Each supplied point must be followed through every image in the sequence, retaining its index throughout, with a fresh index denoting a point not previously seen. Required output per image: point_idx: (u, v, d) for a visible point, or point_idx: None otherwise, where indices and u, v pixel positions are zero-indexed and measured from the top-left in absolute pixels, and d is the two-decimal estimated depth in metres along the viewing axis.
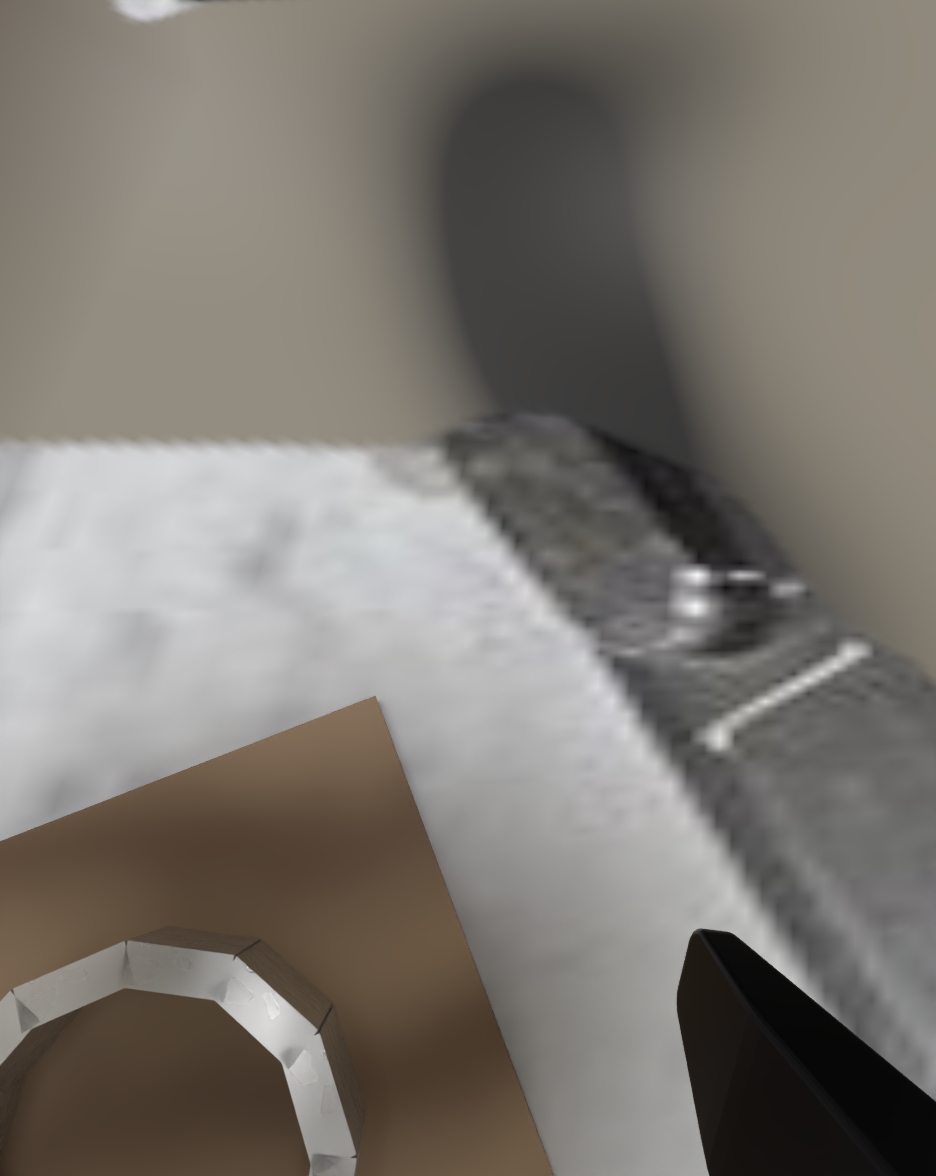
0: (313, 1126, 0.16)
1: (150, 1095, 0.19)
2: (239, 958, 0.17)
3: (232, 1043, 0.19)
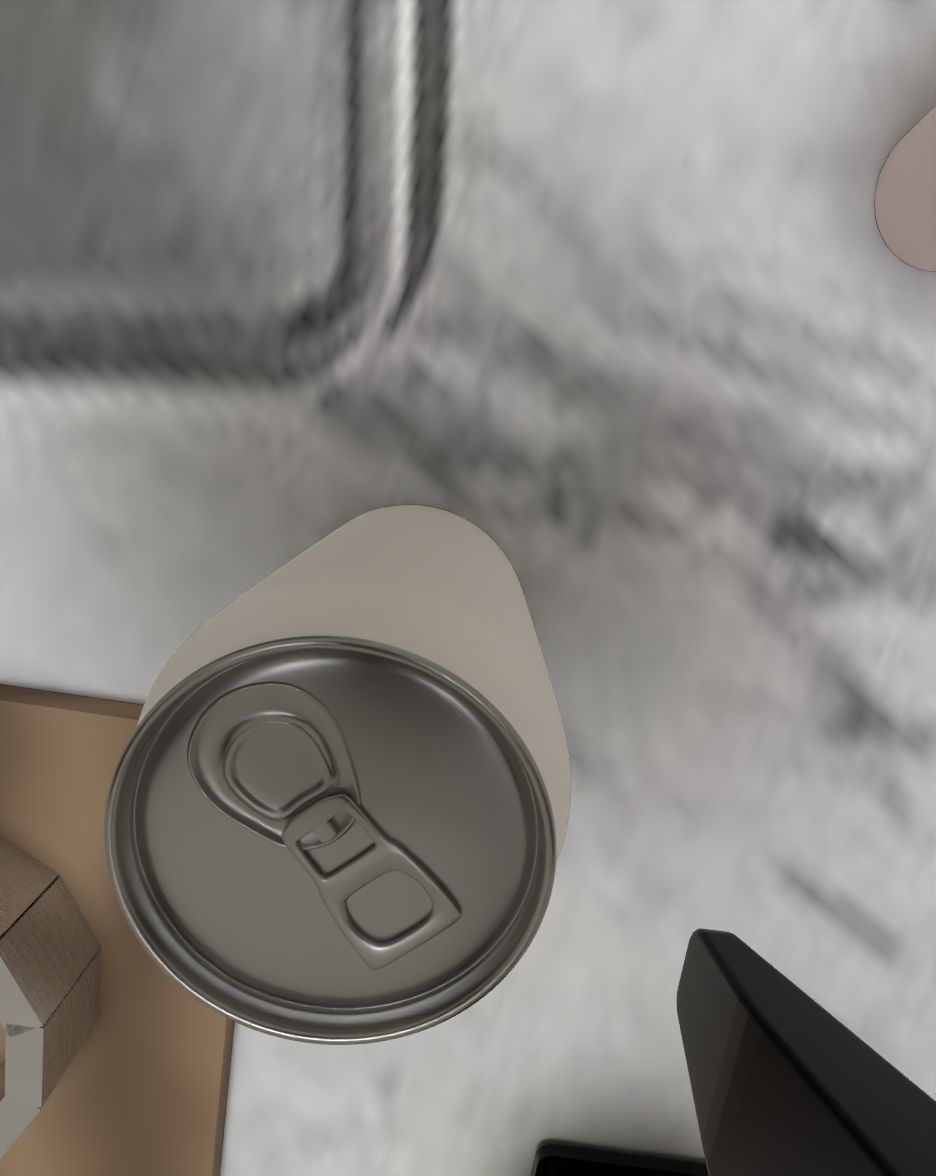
0: None
1: None
2: None
3: None
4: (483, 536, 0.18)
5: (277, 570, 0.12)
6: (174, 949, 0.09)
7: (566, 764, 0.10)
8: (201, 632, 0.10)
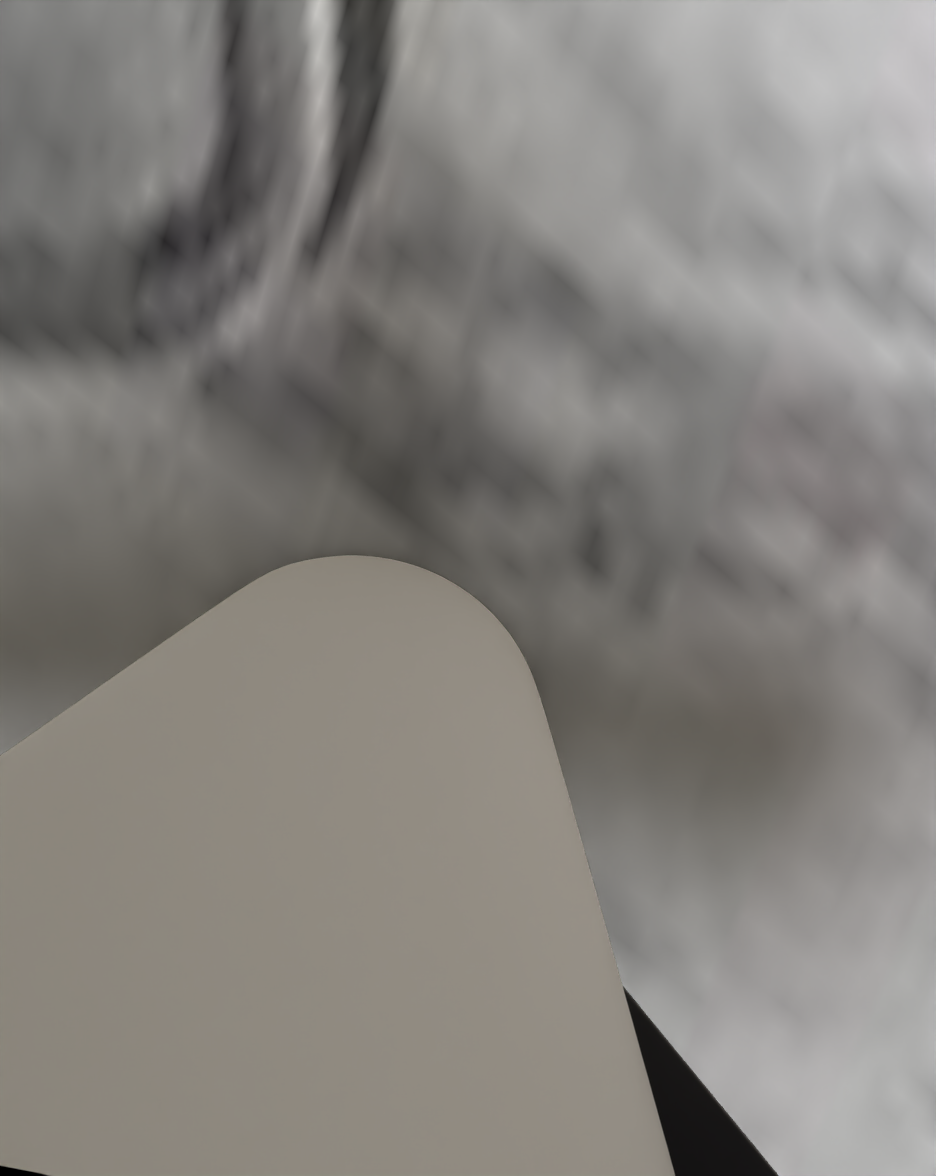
0: None
1: None
2: None
3: None
4: (474, 614, 0.10)
5: None
6: None
7: None
8: None
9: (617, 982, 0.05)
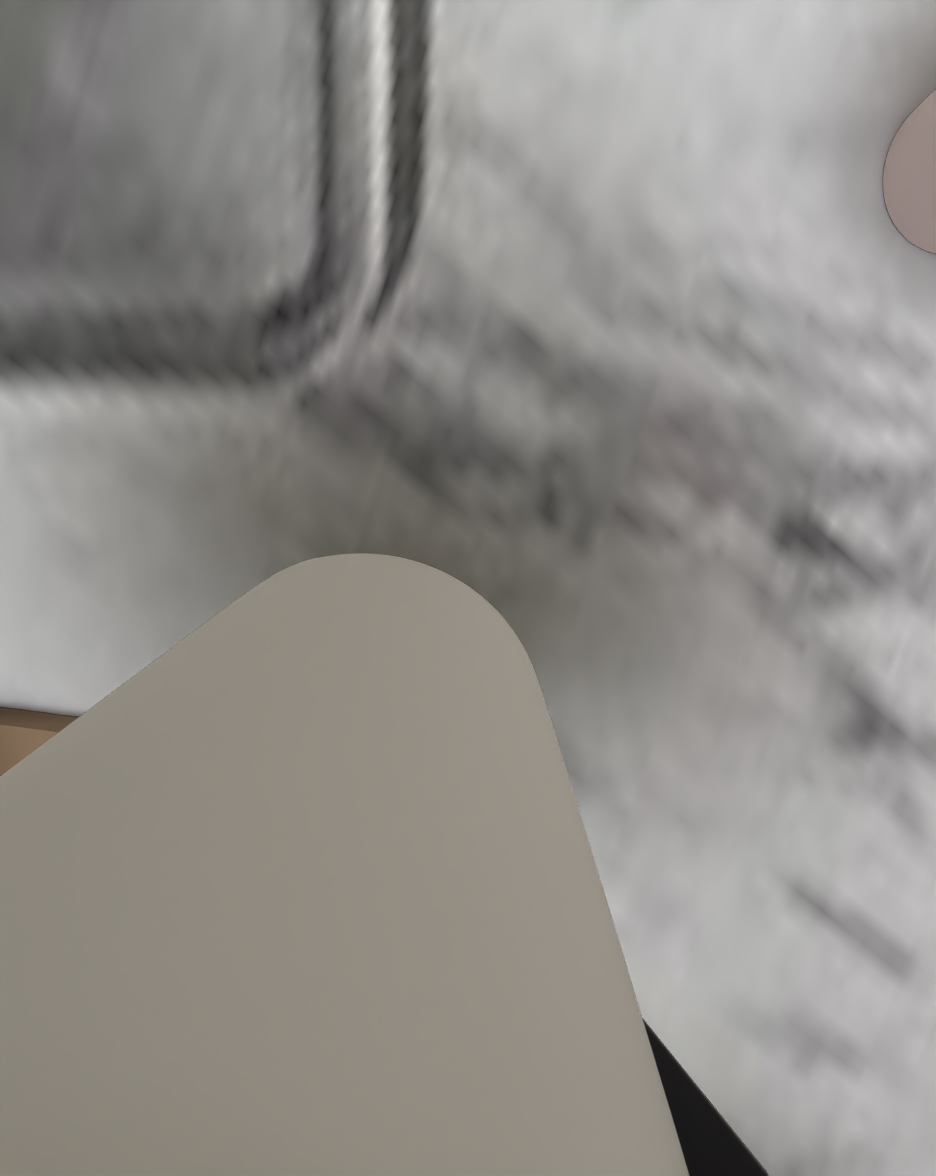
0: None
1: None
2: None
3: None
4: (485, 615, 0.11)
5: None
6: None
7: None
8: None
9: (620, 949, 0.06)
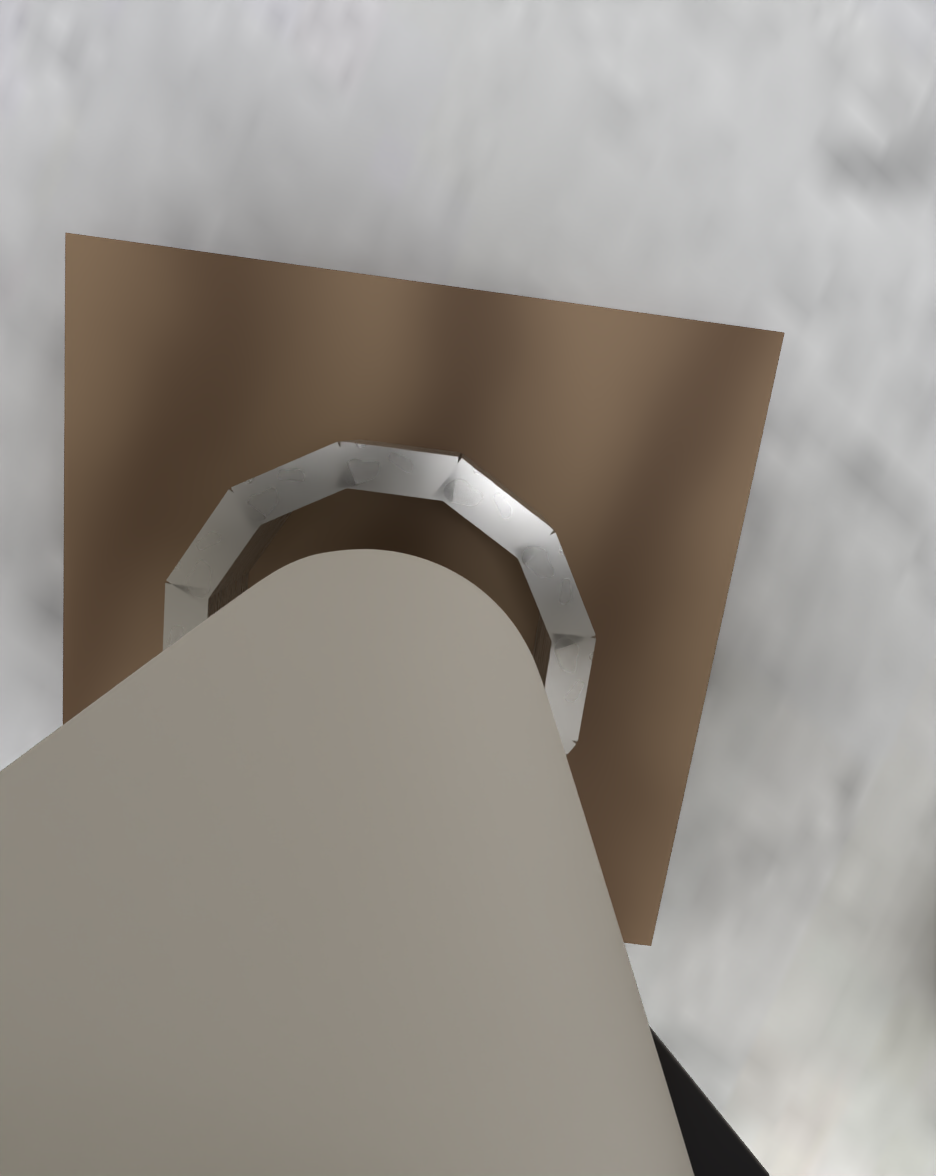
0: (414, 484, 0.16)
1: None
2: (234, 486, 0.16)
3: (343, 544, 0.19)
4: (488, 611, 0.11)
5: None
6: None
7: None
8: None
9: (623, 942, 0.06)
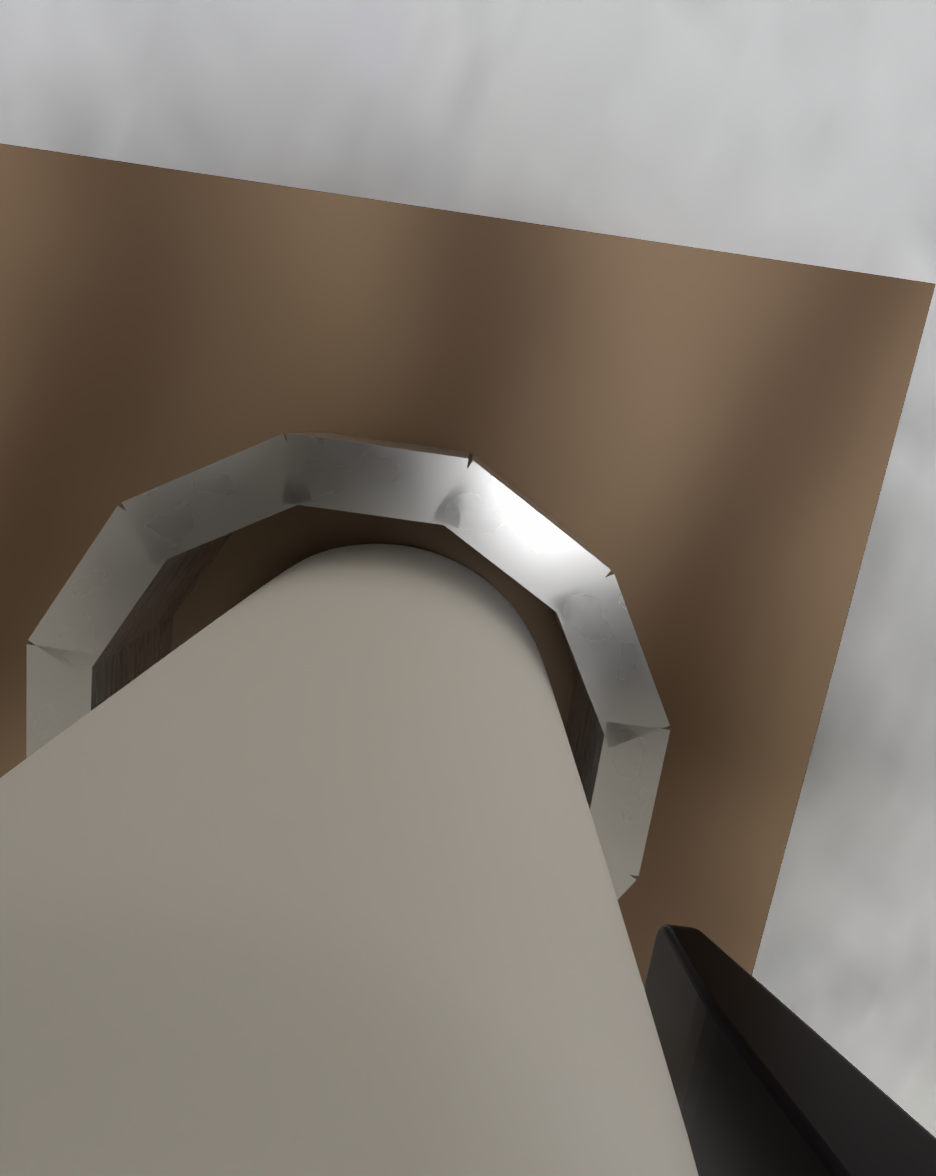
0: (401, 499, 0.10)
1: None
2: (127, 500, 0.10)
3: None
4: (496, 602, 0.12)
5: (72, 733, 0.05)
6: None
7: None
8: None
9: None
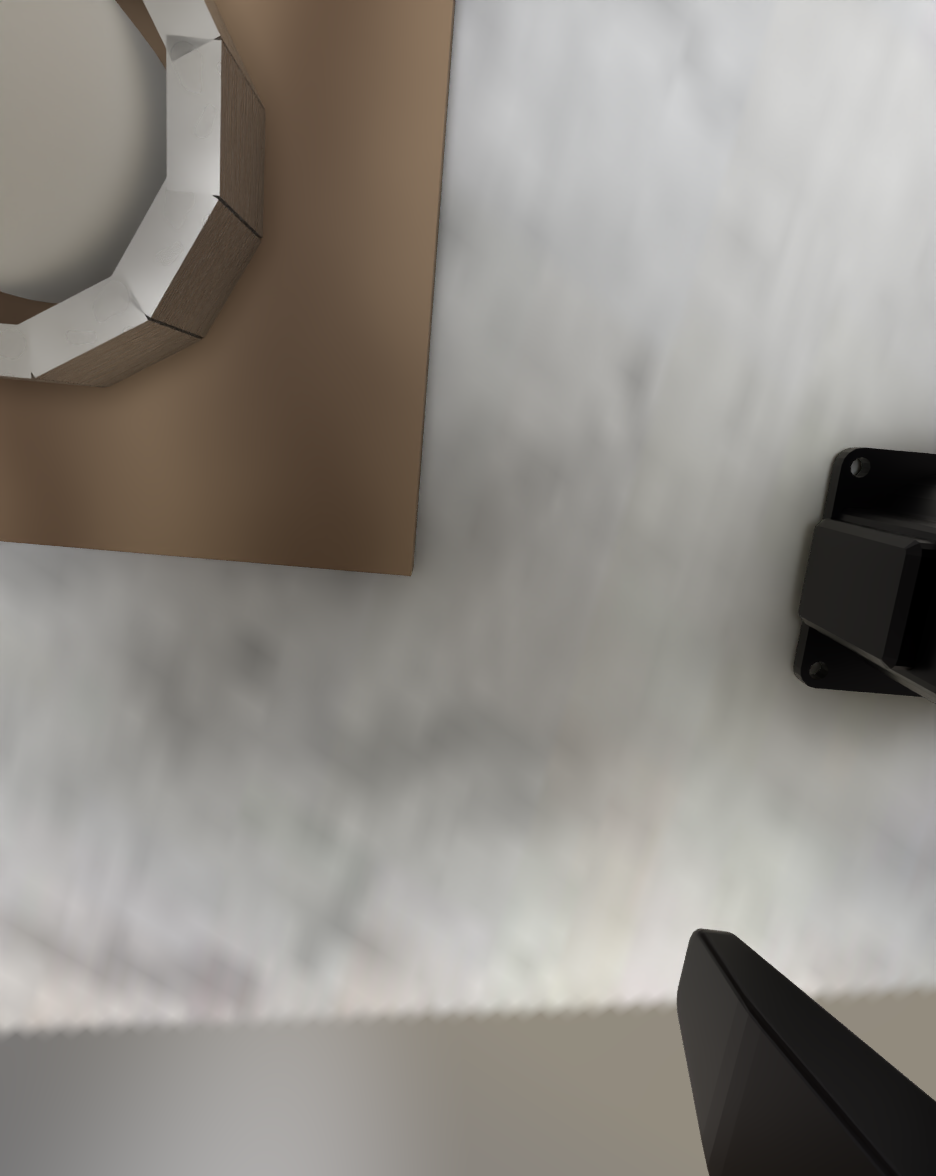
0: None
1: None
2: None
3: None
4: None
5: None
6: None
7: None
8: None
9: None
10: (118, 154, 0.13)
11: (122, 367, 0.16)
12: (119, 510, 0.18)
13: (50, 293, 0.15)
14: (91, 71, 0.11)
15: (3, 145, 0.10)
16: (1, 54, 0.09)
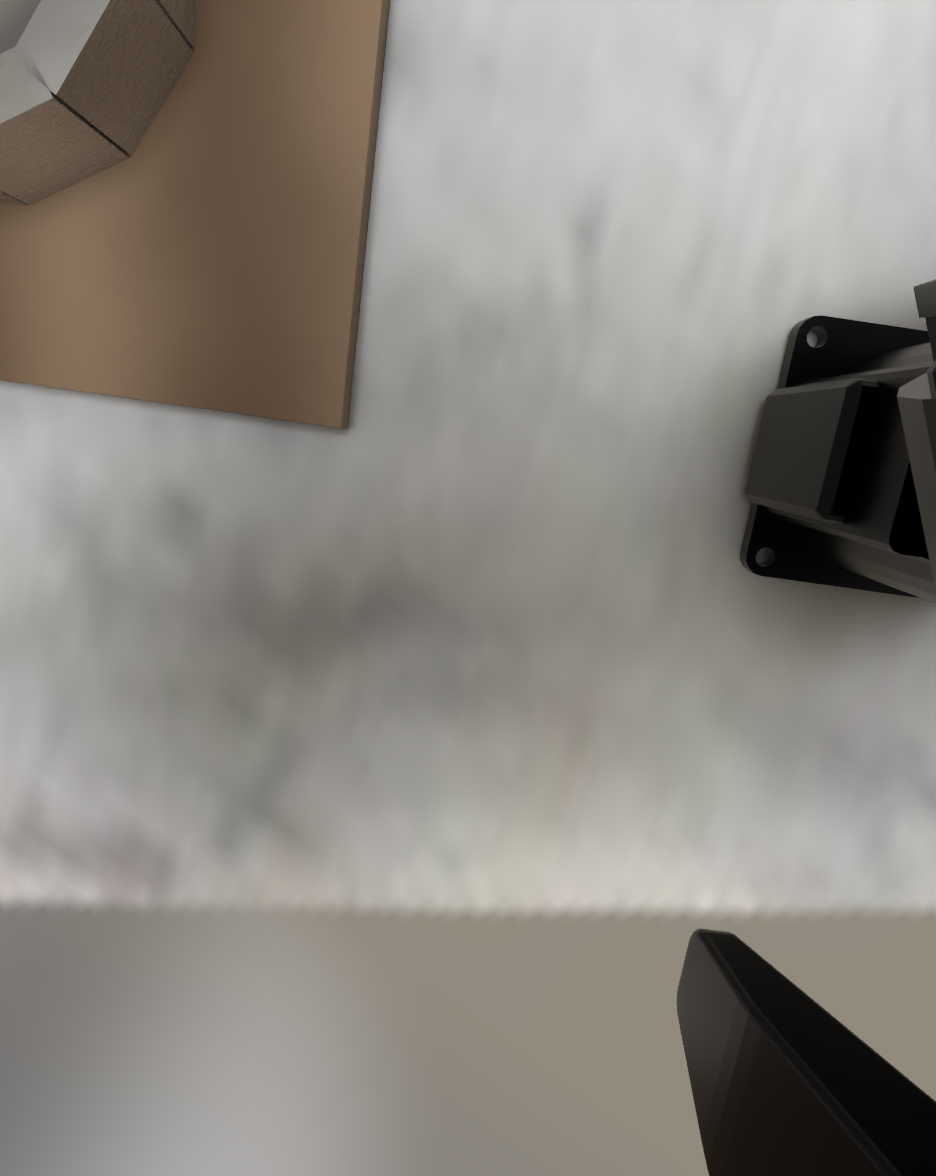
0: None
1: None
2: None
3: None
4: None
5: None
6: None
7: None
8: None
9: None
10: None
11: (40, 175, 0.15)
12: (39, 341, 0.17)
13: None
14: None
15: None
16: None
